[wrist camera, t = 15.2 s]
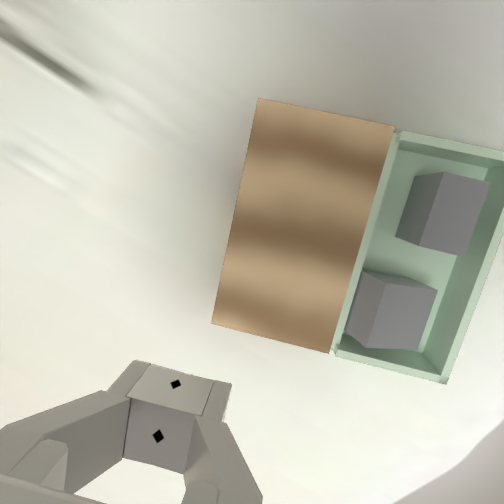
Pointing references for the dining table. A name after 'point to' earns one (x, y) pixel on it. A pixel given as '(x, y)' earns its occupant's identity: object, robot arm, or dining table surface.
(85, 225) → the dining table surface
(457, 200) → the tile
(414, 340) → the tile
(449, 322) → the tray
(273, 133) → the board
